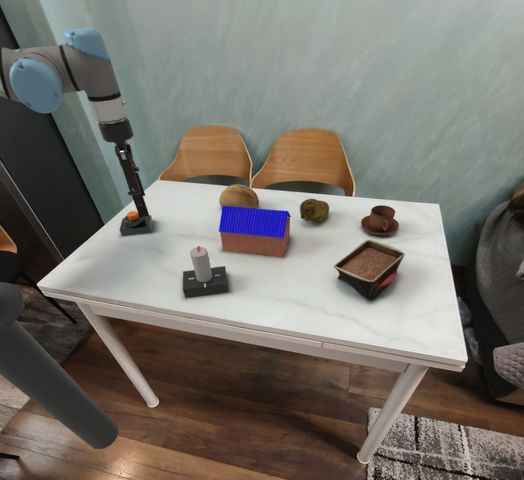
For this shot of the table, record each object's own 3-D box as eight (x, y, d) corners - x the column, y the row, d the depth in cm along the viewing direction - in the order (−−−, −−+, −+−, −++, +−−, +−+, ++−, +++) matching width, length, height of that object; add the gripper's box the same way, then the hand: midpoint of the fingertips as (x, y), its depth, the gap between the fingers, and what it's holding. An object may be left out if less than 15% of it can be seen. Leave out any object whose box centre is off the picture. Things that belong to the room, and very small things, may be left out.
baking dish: (325, 286, 87) (328, 260, 78) (366, 253, 92) (373, 225, 83) (365, 314, 81) (373, 289, 72) (407, 277, 85) (419, 250, 77)
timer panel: (185, 298, 83) (182, 289, 81) (185, 279, 89) (182, 270, 86) (228, 292, 84) (227, 283, 81) (226, 273, 89) (224, 264, 87)
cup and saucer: (404, 233, 99) (411, 215, 94) (373, 242, 96) (378, 223, 92) (382, 216, 106) (387, 199, 101) (352, 224, 104) (356, 206, 99)
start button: (128, 221, 104) (126, 216, 102) (129, 216, 106) (127, 211, 105) (138, 220, 104) (137, 215, 103) (139, 215, 106) (138, 210, 105)
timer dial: (212, 281, 83) (207, 254, 76) (196, 283, 82) (189, 256, 76) (212, 271, 85) (206, 244, 79) (196, 273, 85) (189, 246, 79)
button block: (122, 235, 105) (117, 224, 102) (125, 224, 110) (120, 213, 107) (151, 232, 106) (147, 221, 103) (152, 220, 111) (149, 210, 108)
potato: (337, 220, 106) (340, 197, 99) (305, 231, 102) (307, 207, 96) (323, 210, 110) (326, 187, 104) (292, 220, 107) (293, 197, 101)
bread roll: (257, 215, 110) (255, 192, 104) (217, 214, 112) (213, 191, 106) (261, 203, 116) (260, 180, 110) (223, 201, 118) (220, 179, 112)
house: (283, 257, 93) (284, 221, 84) (221, 251, 97) (215, 215, 88) (290, 236, 100) (291, 201, 91) (232, 231, 104) (228, 196, 95)
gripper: (131, 132, 68) (159, 222, 84) (126, 105, 83) (151, 186, 100) (96, 137, 67) (132, 228, 83) (97, 109, 82) (127, 190, 98)
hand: (142, 205), depth 91 cm, fingers open, 13 cm apart
